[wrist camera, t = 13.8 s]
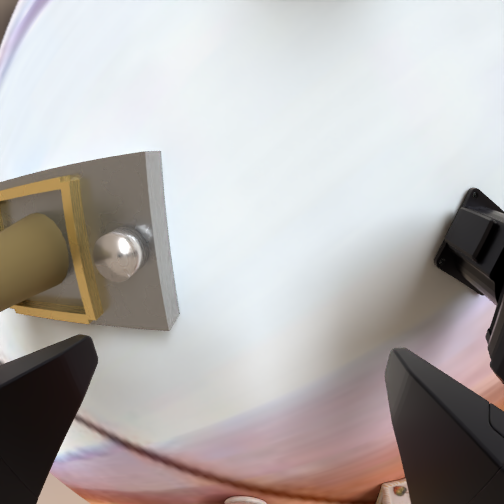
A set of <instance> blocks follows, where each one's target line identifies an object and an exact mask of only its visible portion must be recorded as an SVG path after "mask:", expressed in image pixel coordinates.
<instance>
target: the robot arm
mask: <svg viewBox="0 0 504 504" xmlns="http://www.w3.org/2000/svg"><path fill="white" fill-rule="evenodd" d="M474 192H475V194H476V195H475V197H473V194H474ZM441 259H443V260H442V262H441V263H439V261H440V260H441ZM434 263H435V265H436V266H437V267H438V268H440V269H441V270H443V271H444V272H446V273H448V274H449V275H451V276H453V277H454V278H456V279H457V280H459V281H460V282H462V283H464V284H465V285H467V286H468V287H470V288H471V289H473V290H474V291H476V292H477V293H479V294H480V295H485V296H486V297H487V298H488V299H490V300H491V301H492V302H493V303H494V304H495V305H496V306H497V307H496V310H495V313H494V317H493V320H492V323H491V326H490V328H489V329H488V330H487V333H486V340H487V343H488V351H489V355H490V358H491V362H490V367H491V369H492V370H493V372H494V373H495V374H496V376H497V377H498V378H499V379H500V380H501V381H502V383H503V384H504V211H503V210H501V209H500V208H499V207H498V206H497V205H496V204H495V203H494V202H493V201H491V200H490V199H489V198H488V197H487V196H486V195H485V194H483V193H482V192H481V191H480V190H479V189H477V188H471V189H470V190H469V191H468V194H467V196H466V198H465V200H464V202H463V204H462V207H461V208H460V209H459V211H458V213H457V215H456V217H455V219H454V221H453V223H452V225H451V227H450V229H449V231H448V233H447V235H446V237H445V240H444V242H443V244H442V246H441V248H440V249H439V251H438V253H437V255H436V257H435V259H434ZM97 364H98V356H97V353H96V350H95V347H94V344H93V341H92V339H91V337H90V336H87V335H81V334H80V335H76V336H74V337H71V338H69V339H66V340H64V341H61V342H59V343H56V344H54V345H51V346H49V347H46V348H43V349H41V350H38V351H36V352H33V353H31V354H28V355H26V356H23V357H21V358H18V359H15V360H13V361H10V362H8V363H5V364H3V365H0V504H36V503H37V500H38V497H39V495H40V493H41V490H42V488H43V485H44V483H45V481H46V478H47V476H48V474H49V471H50V469H51V467H52V465H53V462H54V460H55V458H56V456H57V453H58V451H59V449H60V447H61V445H62V443H63V440H64V438H65V436H66V434H67V432H68V430H69V428H70V426H71V424H72V422H73V420H74V418H75V416H76V414H77V412H78V410H79V408H80V406H81V403H82V401H83V399H84V397H85V394H86V392H87V389H88V386H89V384H90V381H91V379H92V376H93V374H94V371H95V369H96V366H97ZM385 382H386V388H387V394H388V400H389V406H390V413H391V420H392V424H393V429H394V433H395V436H396V440H397V444H398V448H399V452H400V456H401V460H402V464H403V469H404V473H405V478H406V482H407V487H408V491H409V496H410V501H411V504H504V411H502V410H501V409H499V408H498V407H496V406H495V405H493V404H491V403H490V404H489V402H488V401H487V400H485V399H484V398H482V397H481V396H479V395H478V394H476V393H474V392H473V391H471V390H470V389H468V388H467V387H465V386H464V385H462V384H461V383H459V382H458V381H456V380H454V379H453V378H451V377H450V376H448V375H447V374H445V373H444V372H442V371H441V370H439V369H437V368H436V367H434V366H433V365H431V364H430V363H428V362H427V361H425V360H424V359H422V358H421V357H419V356H417V355H416V354H414V353H413V352H411V351H410V350H408V349H407V348H394V349H392V350H391V352H390V355H389V359H388V363H387V367H386V371H385Z"/></svg>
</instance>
